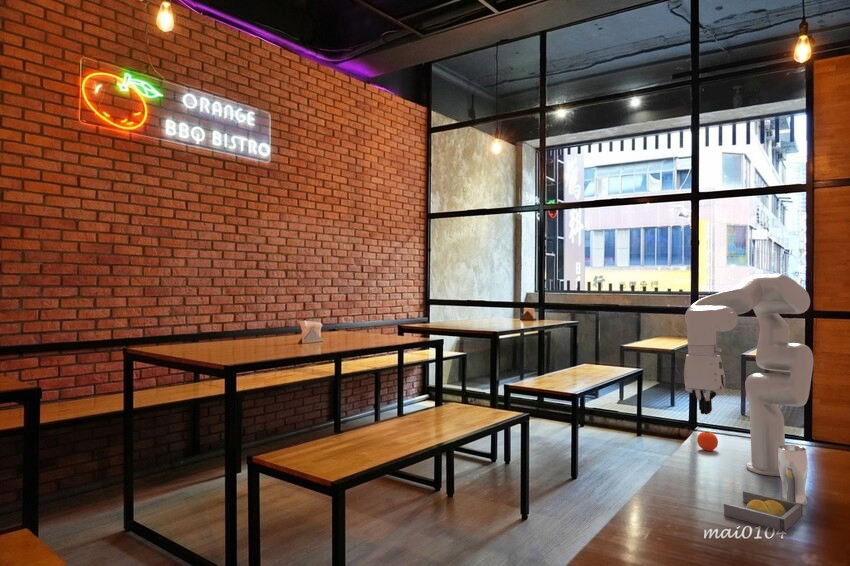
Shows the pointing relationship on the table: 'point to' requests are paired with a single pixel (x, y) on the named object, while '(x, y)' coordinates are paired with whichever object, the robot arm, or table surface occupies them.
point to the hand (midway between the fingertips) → (705, 413)
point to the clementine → (707, 440)
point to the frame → (764, 519)
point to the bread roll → (767, 507)
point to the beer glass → (793, 472)
